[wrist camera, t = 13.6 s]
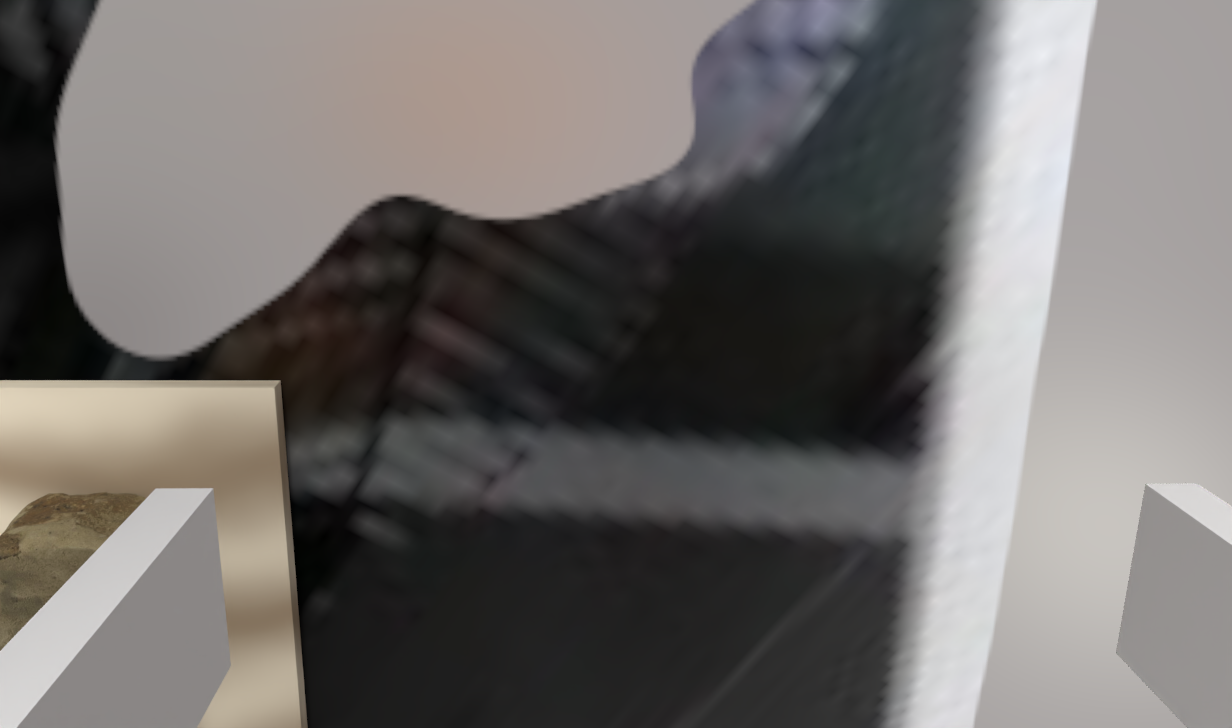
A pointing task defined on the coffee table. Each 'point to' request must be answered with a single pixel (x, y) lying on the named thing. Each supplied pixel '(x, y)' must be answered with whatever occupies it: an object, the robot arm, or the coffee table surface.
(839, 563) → the coffee table surface
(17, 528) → the stone block
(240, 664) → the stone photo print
